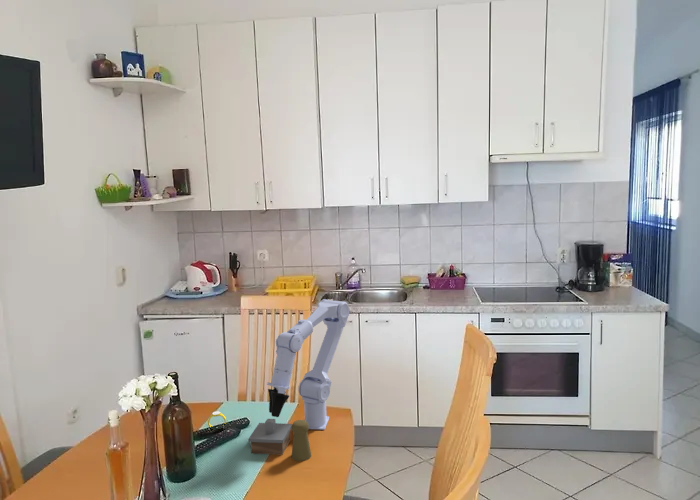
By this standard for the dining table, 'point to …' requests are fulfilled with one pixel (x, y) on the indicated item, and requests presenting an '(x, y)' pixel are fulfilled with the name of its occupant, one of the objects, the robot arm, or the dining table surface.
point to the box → (270, 447)
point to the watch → (215, 416)
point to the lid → (270, 432)
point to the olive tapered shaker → (300, 441)
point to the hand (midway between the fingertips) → (273, 414)
